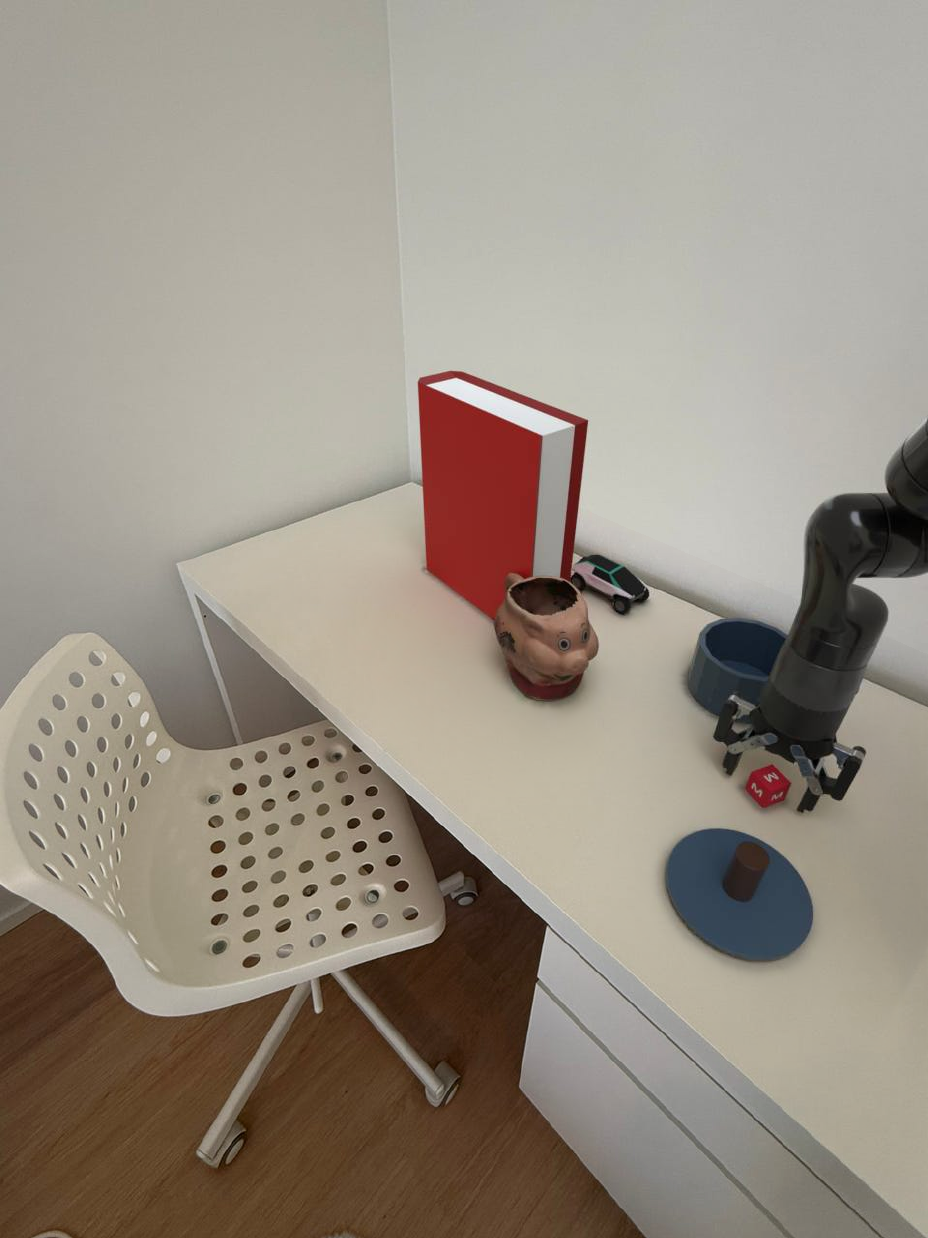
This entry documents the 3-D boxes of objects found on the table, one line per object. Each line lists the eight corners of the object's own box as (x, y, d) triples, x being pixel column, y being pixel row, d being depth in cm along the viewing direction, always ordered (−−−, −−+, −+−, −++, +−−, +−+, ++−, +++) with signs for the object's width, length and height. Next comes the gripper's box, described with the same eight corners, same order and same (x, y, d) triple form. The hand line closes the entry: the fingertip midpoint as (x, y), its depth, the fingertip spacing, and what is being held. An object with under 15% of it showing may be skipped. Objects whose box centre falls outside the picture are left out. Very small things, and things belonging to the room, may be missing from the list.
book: (565, 624, 100) (588, 420, 80) (526, 644, 96) (540, 435, 76) (458, 551, 117) (456, 369, 97) (422, 566, 113) (412, 379, 94)
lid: (827, 885, 65) (850, 846, 61) (782, 997, 57) (806, 960, 53) (697, 813, 72) (711, 773, 68) (640, 903, 64) (652, 864, 60)
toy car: (589, 572, 111) (593, 545, 108) (648, 602, 104) (654, 574, 101) (567, 585, 108) (570, 558, 105) (625, 617, 101) (630, 589, 98)
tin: (798, 685, 88) (816, 642, 84) (766, 739, 81) (784, 695, 76) (709, 648, 95) (721, 606, 90) (672, 694, 87) (683, 651, 83)
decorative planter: (464, 646, 95) (463, 566, 87) (532, 621, 100) (538, 543, 92) (542, 733, 81) (550, 648, 73) (617, 699, 86) (633, 616, 78)
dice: (763, 808, 72) (770, 791, 71) (744, 788, 75) (751, 771, 73) (784, 800, 73) (791, 783, 71) (765, 780, 75) (772, 763, 74)
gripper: (726, 671, 65) (691, 777, 75) (883, 739, 57) (822, 846, 67) (753, 634, 69) (717, 739, 79) (901, 693, 62) (842, 800, 72)
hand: (765, 788), depth 73 cm, fingers open, 7 cm apart
